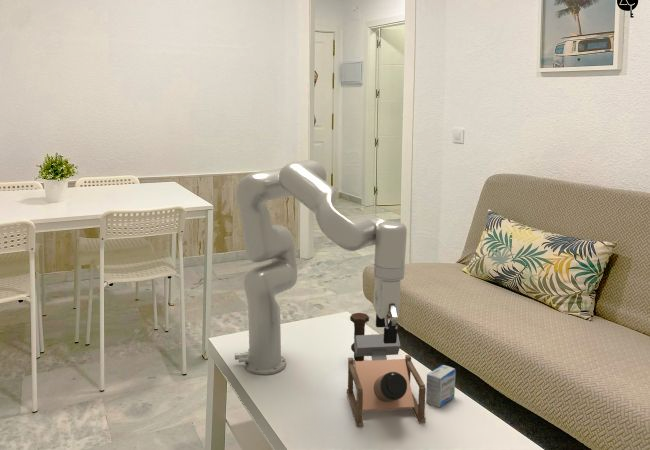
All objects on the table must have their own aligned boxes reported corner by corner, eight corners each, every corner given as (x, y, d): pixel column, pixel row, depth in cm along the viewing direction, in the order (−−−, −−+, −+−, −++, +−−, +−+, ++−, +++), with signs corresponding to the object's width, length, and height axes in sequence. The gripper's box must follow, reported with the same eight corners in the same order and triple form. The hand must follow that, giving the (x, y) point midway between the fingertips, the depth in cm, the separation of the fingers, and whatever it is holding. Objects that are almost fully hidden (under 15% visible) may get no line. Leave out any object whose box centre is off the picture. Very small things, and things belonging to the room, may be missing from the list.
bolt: (368, 357, 188) (369, 313, 185) (368, 365, 183) (368, 319, 180) (350, 357, 189) (350, 312, 186) (349, 364, 184) (349, 318, 181)
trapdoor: (360, 414, 155) (362, 406, 152) (350, 344, 169) (352, 335, 166) (412, 411, 157) (416, 403, 154) (398, 342, 171) (401, 333, 168)
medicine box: (439, 408, 159) (441, 378, 157) (425, 402, 162) (426, 373, 160) (454, 397, 164) (456, 368, 163) (440, 392, 167) (442, 363, 165)
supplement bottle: (394, 372, 158) (406, 367, 147) (401, 399, 156) (414, 395, 145) (370, 378, 157) (380, 373, 146) (376, 405, 155) (388, 401, 143)
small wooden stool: (356, 426, 150) (357, 386, 148) (346, 393, 167) (347, 356, 164) (425, 422, 152) (426, 383, 149) (408, 389, 169) (409, 353, 166)
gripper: (367, 260, 157) (365, 321, 161) (381, 283, 140) (378, 350, 144) (395, 260, 158) (392, 320, 162) (412, 282, 141) (408, 349, 145)
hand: (385, 334), depth 153 cm, fingers open, 9 cm apart
